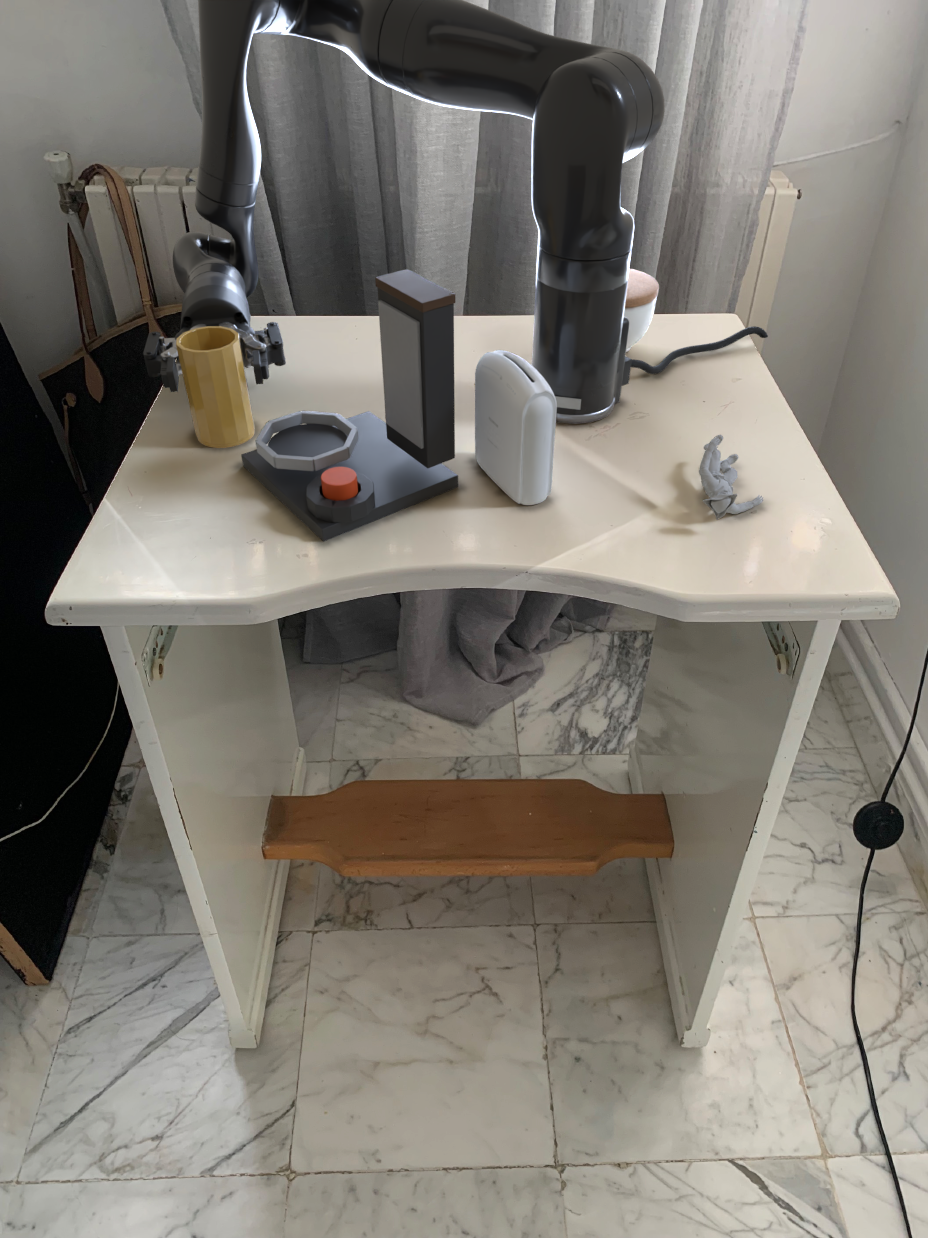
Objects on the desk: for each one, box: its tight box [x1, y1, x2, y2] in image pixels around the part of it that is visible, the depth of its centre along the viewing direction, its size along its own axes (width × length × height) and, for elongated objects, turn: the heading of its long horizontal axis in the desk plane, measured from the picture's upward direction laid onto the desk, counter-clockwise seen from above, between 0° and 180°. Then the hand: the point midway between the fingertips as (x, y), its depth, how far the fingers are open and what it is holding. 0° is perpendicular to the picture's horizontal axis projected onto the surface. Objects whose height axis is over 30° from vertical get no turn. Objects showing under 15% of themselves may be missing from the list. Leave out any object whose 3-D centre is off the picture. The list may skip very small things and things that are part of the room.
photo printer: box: [474, 349, 557, 506], centre depth 84 cm, size 10×4×12 cm, turn 26°
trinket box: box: [624, 268, 660, 353], centre depth 109 cm, size 11×11×9 cm
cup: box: [176, 326, 256, 449], centre depth 92 cm, size 6×6×10 cm
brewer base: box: [240, 410, 459, 542], centre depth 88 cm, size 15×16×3 cm
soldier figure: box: [698, 434, 764, 521], centre depth 85 cm, size 8×5×12 cm
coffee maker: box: [254, 268, 456, 471], centre depth 82 cm, size 15×15×16 cm
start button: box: [321, 467, 358, 501], centre depth 81 cm, size 3×3×2 cm
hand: (215, 379), depth 91 cm, fingers open, 8 cm apart
